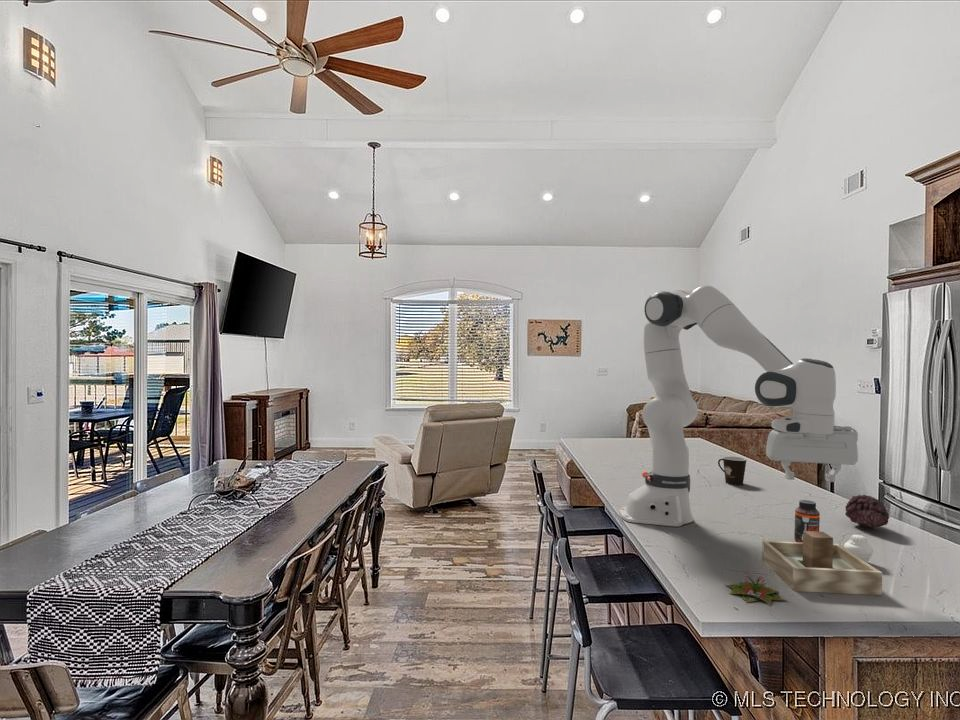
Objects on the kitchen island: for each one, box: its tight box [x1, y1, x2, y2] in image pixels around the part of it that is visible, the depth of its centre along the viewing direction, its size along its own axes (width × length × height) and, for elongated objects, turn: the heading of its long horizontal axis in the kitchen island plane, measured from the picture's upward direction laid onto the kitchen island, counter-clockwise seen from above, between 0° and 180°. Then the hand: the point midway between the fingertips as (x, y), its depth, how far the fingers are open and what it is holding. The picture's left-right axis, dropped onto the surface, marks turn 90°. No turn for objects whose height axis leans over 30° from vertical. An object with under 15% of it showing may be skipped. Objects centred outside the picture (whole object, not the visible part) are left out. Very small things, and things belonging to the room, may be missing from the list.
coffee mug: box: [717, 456, 747, 486], centre depth 224 cm, size 12×9×10 cm
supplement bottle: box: [793, 499, 821, 542], centre depth 154 cm, size 6×6×11 cm
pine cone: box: [845, 494, 890, 529], centre depth 167 cm, size 18×10×10 cm, turn 170°
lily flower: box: [725, 571, 787, 606], centre depth 121 cm, size 12×12×5 cm
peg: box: [803, 531, 834, 569], centre depth 130 cm, size 4×4×10 cm
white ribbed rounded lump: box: [843, 534, 875, 563], centre depth 140 cm, size 6×6×7 cm
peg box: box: [761, 540, 883, 596], centre depth 130 cm, size 18×18×5 cm
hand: (809, 480), depth 137 cm, fingers open, 8 cm apart
